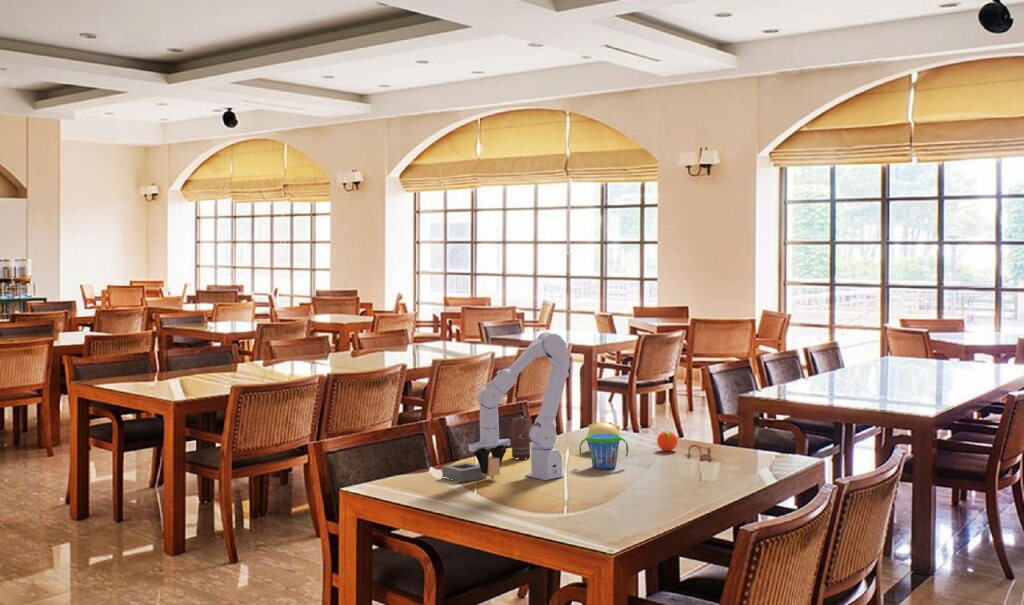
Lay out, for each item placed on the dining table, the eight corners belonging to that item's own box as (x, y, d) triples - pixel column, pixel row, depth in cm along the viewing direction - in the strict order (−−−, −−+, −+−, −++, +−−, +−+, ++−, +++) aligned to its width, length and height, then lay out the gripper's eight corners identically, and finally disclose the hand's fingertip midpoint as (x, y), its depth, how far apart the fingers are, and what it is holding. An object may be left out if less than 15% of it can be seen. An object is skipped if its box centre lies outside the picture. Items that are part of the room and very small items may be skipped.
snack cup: (577, 470, 312) (576, 438, 312) (582, 463, 322) (581, 432, 322) (627, 471, 309) (626, 438, 309) (630, 464, 319) (629, 433, 319)
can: (530, 456, 337) (530, 415, 337) (529, 460, 331) (528, 418, 330) (513, 456, 338) (512, 415, 337) (511, 460, 331) (510, 418, 331)
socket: (486, 478, 303) (486, 466, 303) (460, 482, 297) (460, 470, 297) (467, 473, 310) (467, 462, 310) (442, 478, 304) (442, 466, 304)
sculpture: (622, 449, 348) (621, 418, 347) (618, 455, 336) (617, 423, 336) (590, 448, 350) (589, 418, 350) (584, 454, 339) (584, 423, 338)
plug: (499, 478, 299) (499, 458, 299) (489, 480, 297) (488, 459, 297) (491, 476, 303) (491, 456, 302) (481, 478, 300) (480, 458, 300)
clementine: (679, 453, 337) (679, 432, 337) (659, 453, 337) (658, 432, 337) (675, 449, 345) (675, 428, 345) (656, 449, 345) (655, 429, 345)
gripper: (500, 423, 307) (501, 466, 307) (462, 428, 298) (463, 473, 298) (514, 425, 301) (515, 470, 302) (476, 431, 292) (477, 477, 293)
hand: (490, 472), depth 300 cm, fingers closed on plug, 4 cm apart
